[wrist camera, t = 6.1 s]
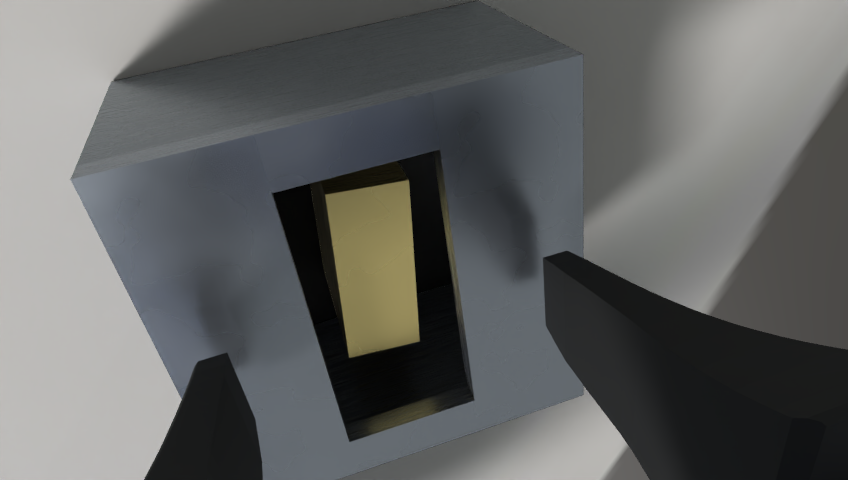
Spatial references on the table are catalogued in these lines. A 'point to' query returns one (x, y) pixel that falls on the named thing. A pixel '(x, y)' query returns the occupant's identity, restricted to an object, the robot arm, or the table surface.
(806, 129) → the table surface
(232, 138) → the box
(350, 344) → the block
